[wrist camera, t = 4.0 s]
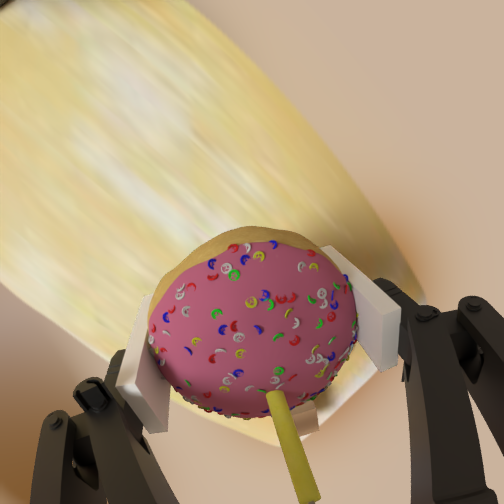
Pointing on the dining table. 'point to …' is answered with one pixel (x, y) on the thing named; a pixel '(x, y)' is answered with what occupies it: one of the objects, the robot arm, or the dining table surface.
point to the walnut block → (305, 418)
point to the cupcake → (255, 331)
